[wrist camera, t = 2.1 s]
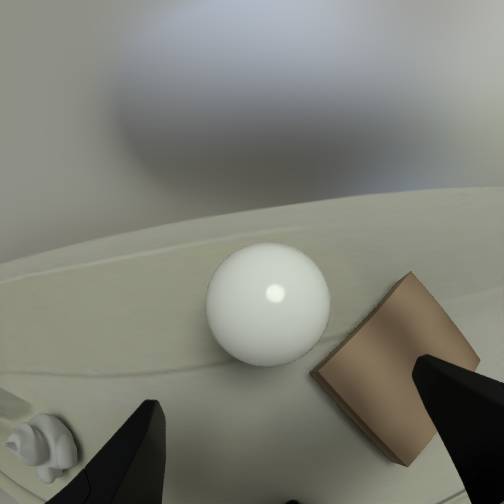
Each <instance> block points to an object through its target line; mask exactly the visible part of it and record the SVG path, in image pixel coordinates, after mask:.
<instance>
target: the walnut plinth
mask: <svg viewBox="0 0 504 504" xmlns="http://www.w3.org/2000/svg"><path fill="white" fill-rule="evenodd" d="M424 354H429V355H432V356H434V357H437V358H439V359H442V360H444V361H447V362H449V363H452V364H455V365H457V366H460V367H462V368H465V369H468V370H470V371H473V372H475V370H476V368H477V366H478V364H479V362H480V359H479V357H478V356H477V354H476V353H475V351H474V350H473V348H472V347H471V346H470V344H469V343H468V341H467V340H466V339H465V337H464V336H463V334H462V333H461V332H460V330H459V329H458V328H457V326H456V325H455V324H454V322H453V321H452V320H451V319H450V317H449V316H448V315H447V313H446V312H445V311H444V310H443V308H442V307H441V306H440V305H439V303H438V302H437V301H436V300H435V299H434V297H433V296H432V295H431V294H430V293H429V291H428V290H427V289H426V288H425V287H424V286H423V284H422V283H421V282H420V281H419V280H418V279H417V277H416V276H415V275H414V274H413V273H412V272H411V271H410V272H409V273H408V274H407V275H405V276H404V277H403V278H402V279H400V280H399V281H398V282H397V283H396V284H395V285H394V287H393V288H392V289H391V290H390V291H389V293H388V294H387V295H386V296H385V297H384V298H383V299H382V301H381V302H380V303H379V304H378V305H377V306H376V307H375V308H374V309H373V310H372V312H371V313H370V314H369V315H368V316H367V317H366V318H365V319H364V320H363V321H362V322H361V323H360V324H359V325H358V326H357V327H356V328H355V330H354V331H353V332H352V333H351V334H350V335H349V336H348V337H347V338H346V339H345V340H344V341H343V342H342V343H341V344H340V345H338V346H337V347H336V348H335V349H334V350H333V351H332V352H331V353H330V354H329V355H328V356H327V357H326V358H325V359H324V360H323V361H322V362H320V363H319V364H318V365H317V366H316V367H315V368H314V369H313V370H312V371H310V372H309V373H310V374H311V375H312V377H313V378H314V379H315V380H316V381H317V382H318V383H319V384H320V386H321V387H322V388H323V389H324V390H325V391H326V392H327V393H328V394H329V395H330V397H331V398H332V399H333V400H334V401H335V402H336V403H337V404H338V405H339V406H340V407H341V408H342V410H343V411H344V412H345V413H346V414H347V415H348V416H349V417H350V418H351V419H352V420H353V421H354V422H355V423H356V425H357V426H358V427H359V428H360V429H361V430H362V431H363V432H364V433H365V434H366V435H367V436H368V437H369V438H370V439H371V440H372V441H373V442H374V443H375V444H376V445H377V446H378V447H379V448H380V449H381V451H382V452H383V453H384V454H385V455H386V456H387V457H388V458H389V459H390V460H391V461H392V462H394V463H397V464H400V465H403V466H406V467H408V466H409V465H410V464H411V463H412V462H413V461H414V460H415V459H416V457H417V456H418V455H419V454H420V453H421V451H422V450H423V449H424V448H425V447H426V445H427V444H428V443H429V441H430V440H431V439H432V438H433V436H434V435H435V434H436V432H437V429H436V428H435V426H434V424H433V422H432V420H431V418H430V417H429V415H428V413H427V411H426V409H425V407H424V405H423V402H422V400H421V398H420V395H419V393H418V391H417V388H416V386H415V384H414V382H413V379H412V371H413V368H414V365H415V362H416V359H417V358H418V357H419V356H421V355H424Z"/></svg>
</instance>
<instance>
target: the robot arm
mask: <svg viewBox="0 0 504 504" xmlns="http://www.w3.org/2000/svg"><path fill="white" fill-rule="evenodd" d="M412 379H413V382H414V384H415V386H416V388H417V391H418V393H419V395H420V398H421V400H422V402H423V405H424V407H425V409H426V411H427V413H428V415H429V417H430V418H431V420H432V422H433V424H434V426H435V428H436V429H437V431H438V433H439V435H440V437H441V439H442V441H443V443H444V445H445V447H446V449H447V451H448V453H449V455H450V457H451V459H452V461H453V463H454V465H455V467H456V469H457V471H458V473H459V476H460V478H461V480H462V482H463V483H464V484H463V485H464V487H465V489H466V492H467V494H468V496H469V499H470V501H471V503H472V504H500V503H502V502H503V501H504V383H502V382H499V381H497V380H494V379H491V378H489V377H486V376H483V375H481V374H478V373H475V372H473V371H470V370H468V369H465V368H462V367H460V366H457V365H455V364H452V363H449V362H447V361H444V360H442V359H439V358H437V357H434V356H432V355H429V354H424V355H421V356H419V357H418V358H417V359H416V362H415V365H414V368H413V371H412ZM165 463H166V420H165V415H164V413H163V410H162V408H161V406H160V403H159V401H158V400H150V399H147V400H145V401H143V403H142V404H141V405H140V406H139V407H138V408H137V409H136V410H135V412H134V413H133V414H132V415H131V416H130V417H129V418H128V420H127V421H126V422H125V423H124V424H123V425H122V426H121V427H120V428H119V430H118V431H117V432H116V433H115V434H114V435H113V436H112V437H111V439H110V440H109V441H108V442H107V443H106V444H105V445H104V446H103V447H102V449H101V450H100V451H99V452H98V453H97V454H96V455H95V456H94V457H93V458H92V460H91V461H90V462H89V463H88V464H87V465H86V466H85V469H82V470H81V471H80V472H79V474H78V475H77V476H76V477H75V478H74V479H73V480H72V481H71V482H70V483H69V484H68V485H67V486H65V487H64V488H63V489H62V490H61V491H60V492H59V493H57V494H56V495H55V496H54V497H52V498H51V499H50V500H49V501H47V502H46V503H45V504H162V493H163V483H164V473H165ZM285 504H300V503H299V502H298V501H296V500H291V501H289V502H287V503H285Z"/></svg>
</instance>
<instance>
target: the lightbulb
mask: <svg viewBox="0 0 504 504" xmlns="http://www.w3.org/2000/svg"><path fill="white" fill-rule="evenodd" d="M205 312H206V318H207V322H208V325H209V328H210V330H211V332H212V334H213V336H214V338H215V339H216V341H217V342H218V343H219V344H220V346H221V347H222V348H223V349H224V350H225V351H226V352H228V353H229V354H230V355H232V356H233V357H235V358H236V359H238V360H240V361H242V362H245V363H247V364H250V365H254V366H261V367H275V366H281V365H285V364H288V363H291V362H293V361H295V360H297V359H299V358H301V357H302V356H304V355H305V354H307V353H308V352H309V351H310V350H311V349H312V348H313V347H314V346H315V345H316V344H317V343H318V341H319V340H320V338H321V337H322V335H323V333H324V331H325V329H326V327H327V324H328V321H329V317H330V312H331V297H330V291H329V287H328V284H327V281H326V279H325V277H324V275H323V273H322V271H321V270H320V268H319V267H318V266H317V264H316V263H315V262H314V261H313V260H312V259H311V258H310V257H308V256H307V255H306V254H305V253H303V252H302V251H300V250H298V249H296V248H294V247H292V246H289V245H286V244H282V243H276V242H261V243H255V244H251V245H248V246H245V247H243V248H241V249H239V250H237V251H235V252H234V253H232V254H231V255H229V256H228V257H227V258H226V259H225V260H224V261H223V262H222V263H221V264H220V265H219V266H218V268H217V269H216V270H215V272H214V274H213V275H212V277H211V280H210V282H209V284H208V288H207V292H206V297H205Z"/></svg>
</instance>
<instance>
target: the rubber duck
mask: <svg viewBox="0 0 504 504" xmlns="http://www.w3.org/2000/svg"><path fill="white" fill-rule="evenodd" d="M3 444H4V445H6V447H7V448H8V449H9V450H10V451H11V452H12V453H13V454H14V455H15V456H16V457H17V458H18V459H20V460H21V461H22V462H24V463H25V464H27V465H29V466H36V473H37V476H38V478H39V479H40V480H41V481H43V482H44V483H47V484H50V483H52V482H53V481H54V480H55V479H56V478H59V477H61V476H62V474H63V470H64V469H69V468H72V467H74V466H75V465H77V463H78V458H77V448H76V445H75V443H74V439H73V436H72V434H71V432H70V431H69V430H68V429H67V427H66V426H65V425H64V424H63V423H62V422H61V421H60V420H59V419H57V418H56V417H54V416H52V415H50V414H47V413H41V414H38V415H36V416H35V417H34V418H32V419H31V420H29V421H28V422H27V423H26V422H23V423H21V424H19V425H18V426H17V427H16V428H15V429H14V430H13V431H12V432H11V434H10V436H9V437H8V439H7V441H6V442H5V443H3Z"/></svg>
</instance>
